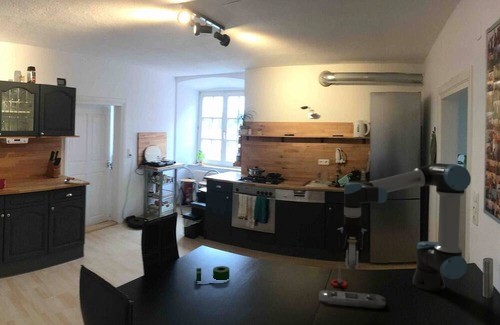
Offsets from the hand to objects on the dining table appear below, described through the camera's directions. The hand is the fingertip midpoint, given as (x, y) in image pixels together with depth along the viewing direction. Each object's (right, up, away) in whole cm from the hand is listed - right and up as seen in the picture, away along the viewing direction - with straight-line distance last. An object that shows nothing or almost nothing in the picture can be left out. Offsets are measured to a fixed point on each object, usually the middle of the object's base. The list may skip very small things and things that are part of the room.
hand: (351, 265), depth 159 cm
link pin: (0, -2, 0) cm, 2 cm away
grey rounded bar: (0, -18, +1) cm, 18 cm away
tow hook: (0, -17, +22) cm, 27 cm away
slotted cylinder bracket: (-68, -17, +27) cm, 75 cm away
